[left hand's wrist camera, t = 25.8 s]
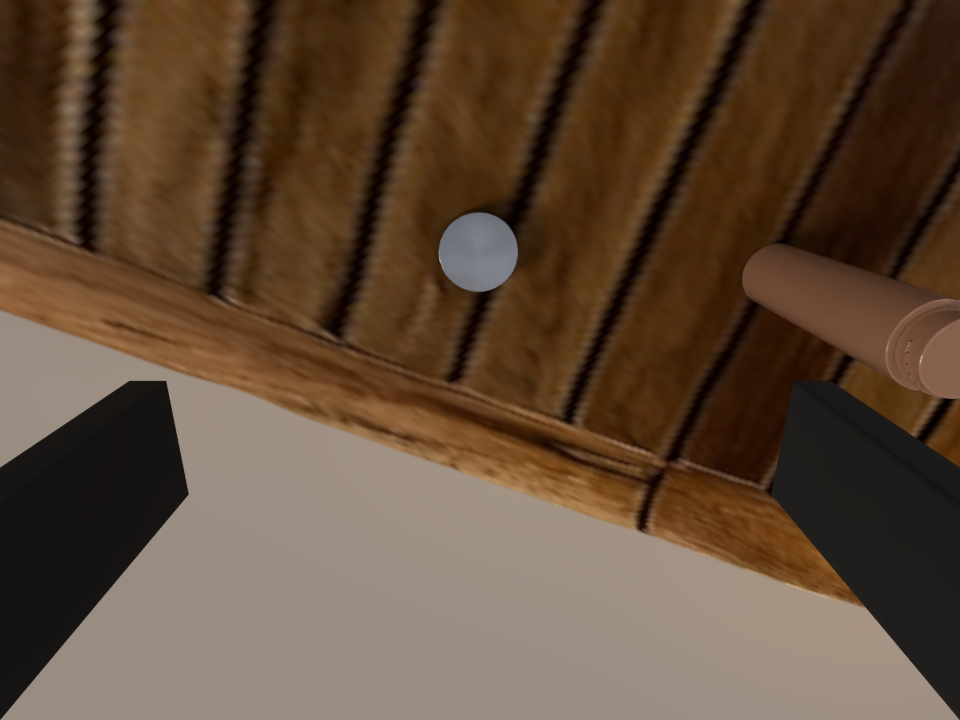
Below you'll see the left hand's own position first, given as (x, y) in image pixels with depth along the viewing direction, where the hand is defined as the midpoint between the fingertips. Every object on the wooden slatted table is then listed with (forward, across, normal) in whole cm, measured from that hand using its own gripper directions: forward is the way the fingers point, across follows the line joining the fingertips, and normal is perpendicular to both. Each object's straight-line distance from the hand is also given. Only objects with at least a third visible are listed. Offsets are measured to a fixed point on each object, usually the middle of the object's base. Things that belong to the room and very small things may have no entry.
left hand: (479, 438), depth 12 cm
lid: (+26, 0, 0) cm, 26 cm away
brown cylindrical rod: (+27, +19, -2) cm, 33 cm away
